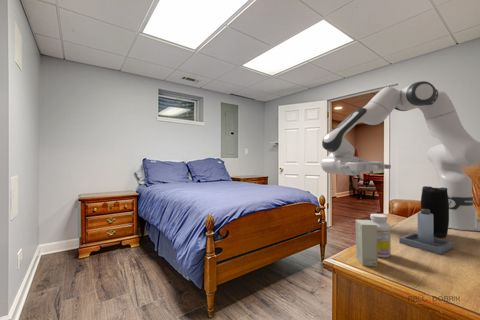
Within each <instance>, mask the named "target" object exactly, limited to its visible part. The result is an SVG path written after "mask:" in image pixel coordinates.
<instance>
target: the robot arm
mask: <svg viewBox="0 0 480 320" xmlns="http://www.w3.org/2000/svg"><path fill="white" fill-rule="evenodd" d="M417 108H418V109H419V110H420V111H421V112H422V114H423V118H424V120H425V123H426V125H427V128H428V131H429V133H430V135H432V137H434V138H436V139H437V140H438V141H439V142H440V143H438V144H436V145H433V146H431V147H430V148H429V149H428V150H427V154H426V155H427V159H428V160H429V161H430V163H432V164H433V166H434V169H435V171H436V174H437V179H438V188H441V187H442V188H447V193H448V200H449V226H448V229H454V230H461V231H473V232H474V231H475V232H480V219H479V218H478V211H477V210H476V207H474V204H475V203H474V201H475V200H474V196H473V195H472V194H473V192H472V191H473V190H472V189H473V188H472V187H473V184H472V183H473V181H472V178H470V177H469V175H467V173H466V172H465V171H464V168H463V167H472V166H476V165H480V142H479V141H478V140H476V139H475V138H474V137H473V136H472V135H471V134H470V133H469V132H468V131H467V130H466V129H465V127H464V126H463V124H462V122H461V119H460V118H459V115H458V112H457V109H456V107H455V106H454V103H453V102H452V100H451V98H450V96H449V94H447V93H446V92H444V91H441V90H440V91H439V90H438V89H436V87H435V86H434V85H433V84H432V83H431V82H430V81H429V82H428V81H425V80H423V81H416V82H414V83H412V84H409V85H408V86H405V87H403V88H402V89H400V90H399V89H396V88H395V87H391V86H386V87H384V88H382V89H380V90H379V91H378V92H377V93H376V94H375V95H374V96H373V97H372V98H371V99H370V100H369V101H368V103H367V104H365V105H364V106H363V107H358V108H356V109H355V110H353V111H352V112H350V113H349V114H348V115H347V116H346V117H345V118H344V119H343V120H342V121H341V122H339V124H337V126H335V127H333V129H331V130H330V131H328V132H327V133H326V134H325V135H324V136H323V137H322V139H321V140H322V141H321V144H322V148H323V149H325V150H326V151H327V152H328V153H329V155H327V156H326V157H324V158H322V159H321V161H320V165H321V169H322V170H323V171H324V172H325V173H327V174H331V175H345V176H353V177H354V176H358V175H361V174H363V173H364V174H365V173H367V172H378V171H379V172H380V171H384V170H385V169H386V170H391V169H392V168H391V167H392V165H391V164H386V163H385V162H383V161H377V160H367V159H366V158H360V157H359V156H355V154H356V149H355V147H354V146H353V144H351V143H350V142H349V141H348V140H347V139H346V137H345V136H346V134H347V133H349V132H350V131H351V130H352V129H353V128H354V127H355V126H356V125H358V124H360V123H364V124H366V125H370V126H375V125H380V124H381V123H383V122H384V121H385V120H386V119H387V118H388V116H389V115H390V114H391V113H392V112H393V111H394V110H396V111H400V112H407V111H411V110H414V109H417Z"/></svg>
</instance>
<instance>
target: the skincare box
mask: <svg viewBox="0 0 480 320" xmlns="http://www.w3.org/2000/svg"><path fill="white" fill-rule="evenodd" d="M355 247H356V248H355V250H356V251H355V254H356V259H357V260H358V262H359V263H360V264H361V265H362V266H365V267H366V266H367V267H378V266H379V262H378V261H379V260H378V259H379V257H378V249H377V225H376V224H375V223H373V222H372V221H371V219H355Z"/></svg>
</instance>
